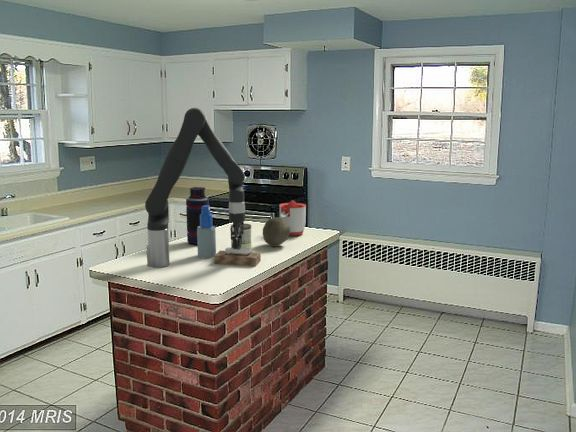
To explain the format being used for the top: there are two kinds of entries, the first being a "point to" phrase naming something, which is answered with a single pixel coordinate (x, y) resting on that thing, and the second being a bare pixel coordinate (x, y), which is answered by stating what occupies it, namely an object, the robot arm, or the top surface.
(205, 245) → the spray bottle
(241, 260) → the wooden block with holes
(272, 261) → the top surface
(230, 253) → the clip
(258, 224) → the top surface
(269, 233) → the cantaloupe
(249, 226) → the coffee can
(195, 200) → the dark navy bottle
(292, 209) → the citrus juicer
